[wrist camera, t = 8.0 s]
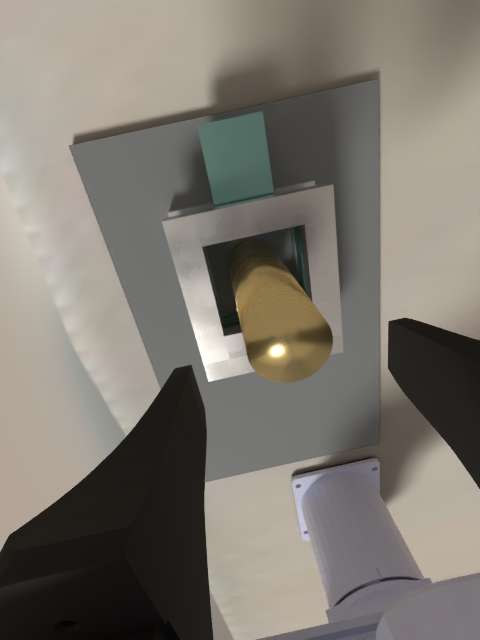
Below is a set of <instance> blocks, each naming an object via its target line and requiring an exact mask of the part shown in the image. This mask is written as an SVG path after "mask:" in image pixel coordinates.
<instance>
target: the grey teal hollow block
mask: <svg viewBox="0 0 480 640" xmlns="http://www.w3.org/2000/svg"><path fill="white" fill-rule="evenodd" d="M197 129H198V133H199V138H200V142H201V147H202V151H203V156H204V161H205V165H206V170H207V174H208V179H209V184H210V188H211V193H212V197H213V201H209V202H204V203H200V204H195V205H190V206H186V207H181V208H177V209H172V210H169V211H168V216H169V217H167V218H164V219H163V221H162V224H163V228H164V231H165V235H166V238H167V241H168V245H169V248H170V252H171V255H172V258H173V262H174V265H175V269H176V272H177V276H178V279H179V282H180V286H181V289H182V293H183V296H184V299H185V303H186V306H187V310H188V313H189V317H190V320H191V323H192V327H193V330H194V334H195V337H196V340H197V344H198V347H199V351H200V354H201V358H202V361H203V364H204V368H205V371H206V375H207V378H208V381H209V382H210V381H215V380H219V379H224V378H228V377H233V376H237V375H242V374H247V373H251V372H255V370H254V369H253V368H252V366H251V365H250V363H249V360H248V357H247V352H246V348H245V343H244V339H243V334H242V330H241V325H240V320H239V316H238V311H237V307H236V305H233V306H229V307H224V308H220V303H219V299H218V295H217V291H216V287H215V283H214V279H213V274H212V270H211V266H210V262H209V258H208V254H207V250H206V246H208V245H212V244H217V243H221V242H226V241H231V240H235V239H240V238H244V237H249V236H254V235H258V234H263V233H267V232H272V231H276V230H281V229H286V228H288V229H289V237H290V245H291V253H292V261H293V269H294V277H295V279H296V281H297V282H298V283H299V285H300V286H301V287H302V289H303V290H304V292H305V293H306V294H307V296H308V297H309V298H310V300H311V301H312V302H313V304H314V305H315V306H316V308H317V309H318V310H319V312H320V313H321V315H322V316H323V317H324V319H325V320H326V321H327V323H328V324H329V326H330V328H331V331H332V335H333V346H332V350H331V353H330V355H333V354H337V353H342V352H343V336H342V320H341V303H340V286H339V270H338V253H337V237H336V220H335V204H334V187H333V184H329V183H323V184H319V185H315V181H314V180H305V181H301V182H296V183H292V184H287V185H282V186H278V187H273V183H272V176H271V168H270V161H269V154H268V147H267V139H266V132H265V125H264V117H263V111H261V112H256V113H252V114H247V115H242V116H238V117H233V118H229V119H224V120H219V121H215V122H210V123H205V124H201V125H197Z"/></svg>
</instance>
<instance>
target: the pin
mask: <svg viewBox="0 0 480 640" xmlns="http://www.w3.org/2000/svg"><path fill="white" fill-rule="evenodd" d="M228 270H229V274H230V279H231V284H232V288H233V293H234V297H235V302H236V307H237V311H238V316H239V320H240V325H241V330H242V334H243V339H244V343H245V348H246V352H247V357H248V360H249V363H250V365H251V366H252V368H253V369H254V370H255V372H256V373H257V374H259V375H260V376H261V377H263V378H265V379H267V380H270V381H273V382H278V383H291V382H296V381H300V380H303V379H305V378H307V377H309V376H311V375H313V374H314V373H315V372H317V371H318V370H319V369H320V368H321V367H322V366H323V365H324V364H325V362H326V361H327V359H328V358H329V356H330V353H331V350H332V346H333V335H332V331H331V328H330V326H329V324H328V323H327V321H326V320H325V319H324V317H323V316H322V315H321V313H320V312H319V310H318V309H317V308H316V306H315V305H314V304H313V302H312V301H311V300H310V298H309V297H308V296H307V294H306V293H305V292H304V290H303V289H302V287H301V286H300V285H299V283H298V282H297V281H296V279H295V278H294V277H293V275H292V274H291V273H290V271H289V270H288V269H287V267H286V266H285V265H284V263H283V262H282V260H281V259H280V258H279V256H278V255H277V254H276V252H275V251H274V250H273V248H272V247H271V246H270V245H269V244H268V243H267V242H265V241H263V240H261V239H257V238H249V239H245V240H242V241H241V242H239V243H238V244H236V245H235V246H234V247H233V249H232V250H231V252H230V254H229V257H228Z"/></svg>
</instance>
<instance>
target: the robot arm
mask: <svg viewBox="0 0 480 640" xmlns="http://www.w3.org/2000/svg"><path fill="white" fill-rule="evenodd" d="M388 369H389V371H390V372H391V374H392V376H393V377H394V379H395V380H396V382H397V383H398V385H399V386H400V388H401V389H402V391H403V392H404V393H405V395H406V396H407V397H408V398H409V399H410V400H411V402H412V403H413V404H414V405H415V406H416V407H417V409H418V410H419V411H420V412H421V413H422V414H423V416H424V417H425V418H426V419H427V420H428V421H429V422H430V424H431V425H432V426H433V427H434V428H435V429H436V431H437V432H438V433H439V434H440V435H441V436H442V437H443V439H444V440H445V441H446V442H447V444H448V445H449V446H450V447H451V449H452V450H453V451H454V452H455V454H456V455H457V457H458V458H459V460H460V461H461V462H462V464H463V465H464V467H465V468H466V470H467V471H468V472H469V474H470V475H471V477H472V478H473V480H474V481H475V483H476V484H477V486H478V487H479V489H480V341H479V340H476V339H473V338H469V337H466V336H463V335H460V334H457V333H453V332H450V331H447V330H444V329H441V328H438V327H435V326H432V325H429V324H426V323H423V322H420V321H416V320H413V319H408V318H402V319H397V320H393V321H389V325H388ZM206 447H207V426H206V414H205V407H204V404H203V400H202V397H201V394H200V391H199V387H198V384H197V381H196V378H195V375H194V371H193V368H192V365H188V366H183V367H178V368H175V369H174V370H173V372H172V373H171V375H170V376H169V378H168V379H167V381H166V383H165V384H164V386H163V387H162V389H161V390H160V392H159V394H158V395H157V397H156V398H155V400H154V401H153V403H152V404H151V405H150V407H149V408H148V410H147V411H146V412H145V414H144V415H143V416H142V418H141V419H140V420H139V422H138V423H137V424H136V426H135V427H134V428H133V429H132V431H131V432H130V433H129V434H128V435H127V436H126V438H125V439H124V440H123V441H122V442H121V443H120V444H119V445H118V446H117V447H116V448H115V450H114V451H113V452H112V453H111V454H110V455H109V456H107V458H105V459H104V460H103V461H102V462H101V463H100V464H99V465H98V466H97V467H96V468H95V469H94V470H93V471H92V472H91V473H90V474H89V475H87V476H86V477H85V478H84V479H83V480H82V481H81V482H79V484H77V485H76V486H75V487H74V488H72V489H71V490H70V491H69V492H67V493H66V494H65V495H64V496H62V497H61V498H60V499H59V500H57V501H56V502H55V503H53V504H52V505H51V506H50V507H48V508H47V509H45V510H44V511H43V512H41V513H40V514H39V515H37V516H36V517H34V518H33V519H32V520H30V521H29V522H27V523H26V524H25V525H23V526H22V527H20V528H19V529H18V530H16V531H15V532H13V533H12V534H10V535H9V537H8V539H7V541H6V542H5V544H4V546H3V548H2V550H1V552H0V640H213V630H212V619H211V607H210V593H209V580H208V566H207V550H206V533H205V513H204V488H205V468H206ZM291 482H292V487H293V493H294V498H295V504H296V509H297V515H298V520H299V526H300V531H301V536H302V540H304V541H311V545H312V549H313V552H314V556H315V559H316V563H317V566H318V570H319V573H320V577H321V580H322V584H323V587H324V591H325V595H326V598H327V602H328V605H329V609H328V610H326V614H327V617H328V621H329V624H324V625H320V626H315V627H311V628H306V629H302V630H297V631H293V632H288V633H284V634H280V635H275V636H271V637H266V638H262V639H257V640H480V573H476V574H471V575H467V576H462V577H458V578H454V579H449V580H445V581H440V582H436V583H432V581H431V580H430V578H426V579H424V577H423V575H422V573H421V571H420V569H419V567H418V565H417V564H416V562H415V560H414V558H413V556H412V554H411V552H410V550H409V548H408V547H407V545H406V543H405V541H404V539H403V537H402V535H401V533H400V531H399V530H398V528H397V526H396V524H395V522H394V520H393V518H392V516H391V514H390V513H389V511H388V509H387V507H386V505H385V503H384V501H383V499H382V497H381V496H380V462H379V461H378V459H377V458H371V459H367V460H362V461H358V462H353V463H349V464H344V465H340V466H335V467H331V468H326V469H322V470H318V471H313V472H309V473H304V474H300V475H295V476H293V477H292V479H291Z"/></svg>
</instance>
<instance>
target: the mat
mask: <svg viewBox="0 0 480 640" xmlns="http://www.w3.org/2000/svg"><path fill="white" fill-rule="evenodd" d="M261 111H263V117H264V125H265V132H266V139H267V147H268V154H269V161H270V168H271V176H272V183H273V187H278V186H282V185H287V184H292V183H296V182H301V181H305V180H314V181H315V185H319V184H323V183H329V184H333V187H334V204H335V220H336V237H337V253H338V270H339V286H340V303H341V320H342V336H343V352H342V353H337V354H333V355H330V356H329V358H328V359H327V361H326V362H325V364H324V365H323V366H322V367H321V368H320V369H319V370H318V371H317V372H315V373H314V374H313V375H311V376H309V377H307V378H305V379H303V380H300V381H296V382H291V383H278V382H273V381H270V380H267V379H265V378H263V377H261V376H260V375H259V374H257V373H256V372H251V373H247V374H242V375H237V376H233V377H228V378H224V379H219V380H215V381H210V382H209V381H208V378H207V375H206V371H205V368H204V364H203V361H202V358H201V354H200V351H199V347H198V344H197V340H196V337H195V334H194V330H193V327H192V323H191V320H190V317H189V313H188V310H187V306H186V303H185V299H184V296H183V293H182V289H181V286H180V282H179V279H178V276H177V272H176V269H175V265H174V262H173V258H172V255H171V252H170V248H169V245H168V241H167V238H166V235H165V231H164V228H163V224H162V221H163V219H164V218H167V217H169V216H168V211H169V210H172V209H177V208H181V207H186V206H190V205H195V204H200V203H204V202H209V201H213V197H212V193H211V188H210V184H209V179H208V174H207V170H206V165H205V161H204V156H203V151H202V147H201V142H200V138H199V133H198V129H197V125H201V124H205V123H210V122H215V121H219V120H224V119H229V118H233V117H238V116H242V115H247V114H252V113H256V112H261ZM69 148H70V150H71V153H72V156H73V158H74V161H75V164H76V166H77V169H78V172H79V174H80V177H81V180H82V182H83V185H84V187H85V190H86V193H87V195H88V198H89V201H90V203H91V206H92V209H93V211H94V214H95V216H96V219H97V222H98V224H99V227H100V230H101V232H102V235H103V238H104V240H105V243H106V246H107V248H108V251H109V253H110V256H111V259H112V261H113V264H114V267H115V269H116V272H117V275H118V277H119V280H120V283H121V285H122V288H123V290H124V293H125V296H126V298H127V301H128V304H129V306H130V309H131V312H132V314H133V317H134V319H135V322H136V325H137V327H138V330H139V333H140V335H141V338H142V341H143V343H144V346H145V349H146V351H147V354H148V356H149V359H150V362H151V364H152V367H153V370H154V372H155V375H156V378H157V380H158V383H159V386H160V388H161V389H162V387H163V386H164V384H165V383H166V381H167V379H168V378H169V376H170V375H171V373H172V372H173V370H174V369H175V368H178V367H183V366H188V365H192V368H193V371H194V375H195V378H196V381H197V384H198V387H199V391H200V394H201V397H202V400H203V404H204V407H205V414H206V426H207V447H206V468H205V482H208V481H213V480H217V479H222V478H226V477H231V476H235V475H240V474H244V473H248V472H253V471H257V470H262V469H266V468H271V467H275V466H280V465H284V464H289V463H293V462H298V461H302V460H307V459H311V458H316V457H320V456H325V455H329V454H334V453H338V452H343V451H347V450H352V449H356V448H361V447H365V446H370V445H374V444H379V443H380V373H379V79H375V80H371V81H366V82H361V83H357V84H352V85H347V86H343V87H338V88H334V89H329V90H324V91H320V92H315V93H310V94H306V95H301V96H296V97H292V98H287V99H283V100H278V101H273V102H269V103H264V104H259V105H255V106H250V107H245V108H241V109H236V110H232V111H227V112H222V113H218V114H213V115H208V116H204V117H199V118H194V119H190V120H185V121H181V122H176V123H171V124H167V125H162V126H157V127H153V128H148V129H143V130H139V131H134V132H130V133H125V134H120V135H116V136H111V137H106V138H102V139H97V140H92V141H88V142H83V143H79V144H74V145H69ZM249 238H257V239H261V240H263V241H265V242H267V243H268V244H269V245H270V246H271V247H272V248H273V250H274V251H275V252H276V254H277V255H278V256H279V258H280V259H281V260H282V262H283V263H284V265H285V266H286V267H287V269H288V270H289V271H290V273H291V274H292V275H293V277H294V269H293V261H292V253H291V245H290V237H289V229H288V228H286V229H281V230H276V231H272V232H267V233H263V234H258V235H254V236H249V237H244V238H240V239H235V240H231V241H226V242H221V243H217V244H212V245H208V246H206V250H207V254H208V258H209V262H210V266H211V270H212V274H213V279H214V283H215V287H216V291H217V295H218V299H219V303H220V308H224V307H229V306H233V305H236V302H235V297H234V293H233V288H232V284H231V279H230V274H229V270H228V257H229V254H230V252H231V250H232V249H233V247H234V246H235V245H236V244H238V243H239V242H241V241H242V240H245V239H249ZM294 278H295V277H294Z"/></svg>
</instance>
